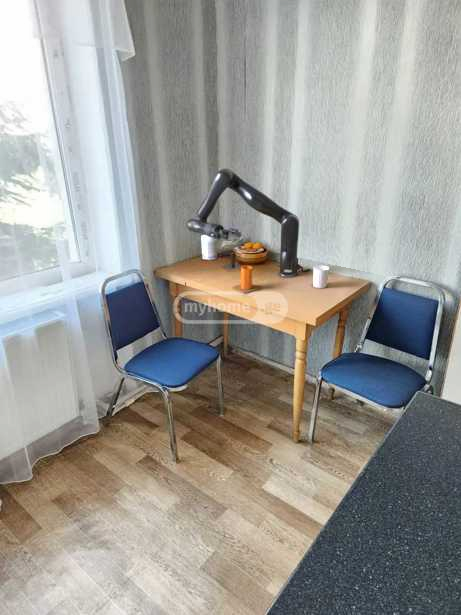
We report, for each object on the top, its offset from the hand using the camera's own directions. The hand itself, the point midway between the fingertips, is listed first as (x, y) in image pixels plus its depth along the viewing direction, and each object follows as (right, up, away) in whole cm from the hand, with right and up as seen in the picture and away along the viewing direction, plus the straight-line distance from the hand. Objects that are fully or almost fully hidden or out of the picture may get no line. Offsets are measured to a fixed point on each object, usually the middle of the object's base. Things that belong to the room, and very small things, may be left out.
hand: (234, 236), depth 199 cm
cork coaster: (+7, -26, +3) cm, 27 cm away
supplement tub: (-15, -5, +49) cm, 52 cm away
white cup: (+45, -25, +6) cm, 52 cm away
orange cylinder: (+6, -26, +3) cm, 27 cm away
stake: (0, -13, +33) cm, 35 cm away
